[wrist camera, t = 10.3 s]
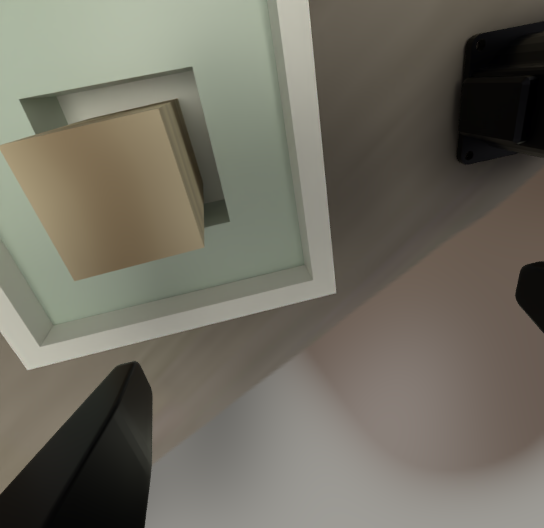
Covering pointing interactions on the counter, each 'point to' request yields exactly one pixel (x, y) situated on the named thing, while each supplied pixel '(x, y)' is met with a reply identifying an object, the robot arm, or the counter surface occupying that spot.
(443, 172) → the counter surface
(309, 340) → the counter surface
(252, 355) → the counter surface
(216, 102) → the open box
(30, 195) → the maple peg
